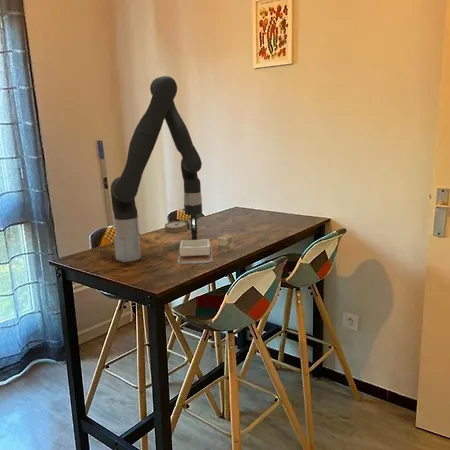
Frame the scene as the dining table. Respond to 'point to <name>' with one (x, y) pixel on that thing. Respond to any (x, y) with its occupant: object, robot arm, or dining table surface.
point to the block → (225, 243)
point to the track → (195, 258)
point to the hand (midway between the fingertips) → (194, 242)
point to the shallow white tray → (194, 247)
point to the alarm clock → (177, 226)
